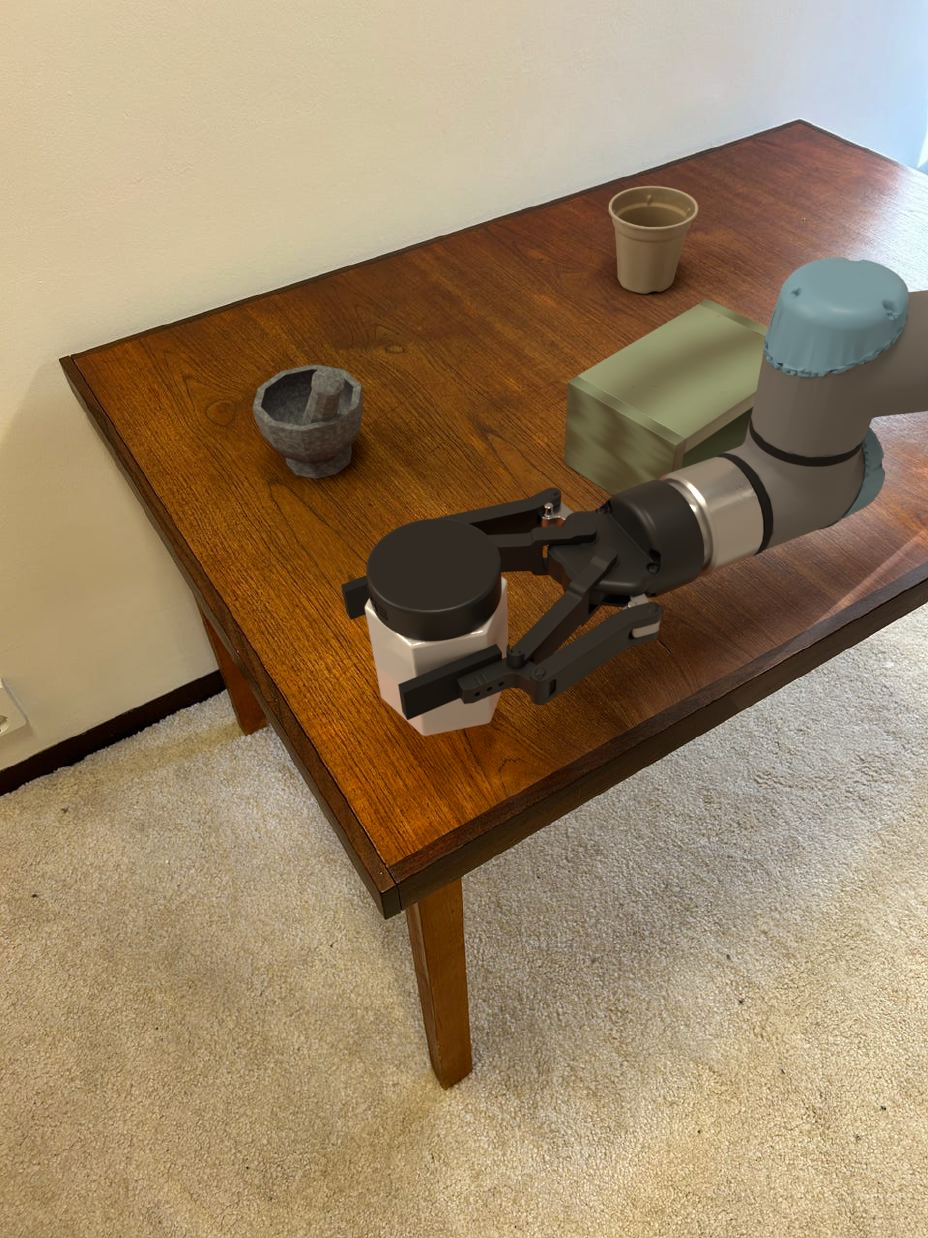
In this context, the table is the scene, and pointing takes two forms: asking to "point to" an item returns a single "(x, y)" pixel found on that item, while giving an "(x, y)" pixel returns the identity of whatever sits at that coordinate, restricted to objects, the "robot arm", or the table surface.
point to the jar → (435, 611)
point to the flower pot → (650, 235)
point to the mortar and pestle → (311, 417)
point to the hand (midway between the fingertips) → (373, 650)
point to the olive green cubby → (665, 399)
